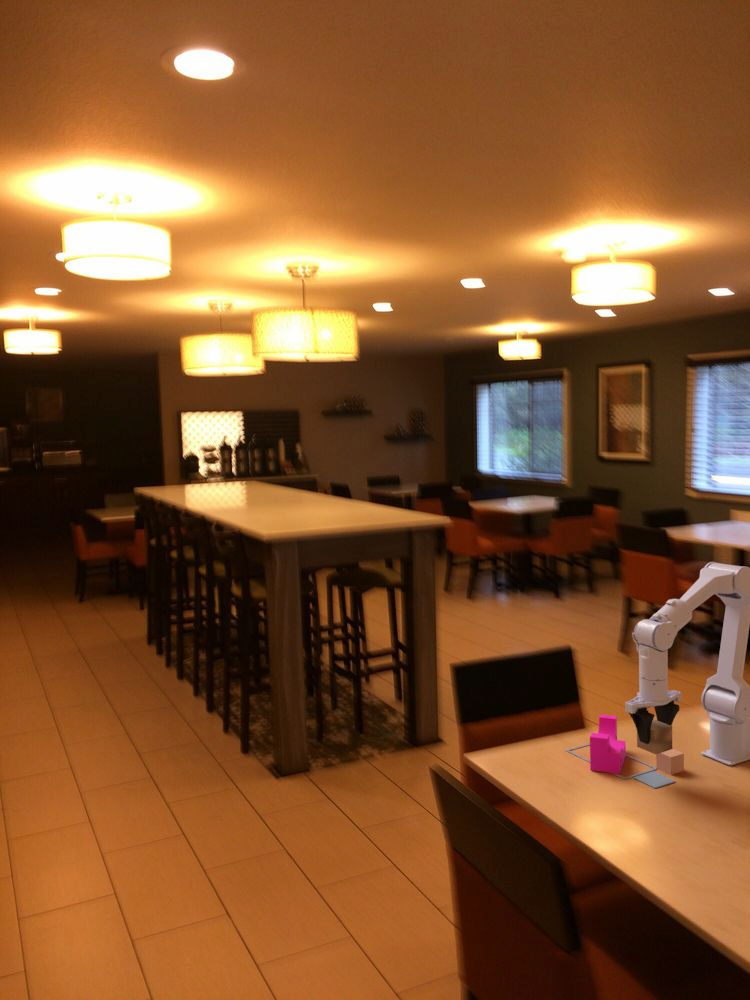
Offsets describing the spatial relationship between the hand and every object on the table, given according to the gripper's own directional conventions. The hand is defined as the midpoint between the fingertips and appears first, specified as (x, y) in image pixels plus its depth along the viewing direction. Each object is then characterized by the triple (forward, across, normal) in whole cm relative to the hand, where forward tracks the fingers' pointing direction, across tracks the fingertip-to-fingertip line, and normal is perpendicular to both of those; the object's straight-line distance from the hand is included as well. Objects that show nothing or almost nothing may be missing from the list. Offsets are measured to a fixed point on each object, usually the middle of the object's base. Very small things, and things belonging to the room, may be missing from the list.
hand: (654, 739), depth 167 cm
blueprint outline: (+9, 0, -10) cm, 13 cm away
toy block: (+9, 0, -13) cm, 16 cm away
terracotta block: (+9, -7, -2) cm, 12 cm away
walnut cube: (+2, 0, 0) cm, 2 cm away
